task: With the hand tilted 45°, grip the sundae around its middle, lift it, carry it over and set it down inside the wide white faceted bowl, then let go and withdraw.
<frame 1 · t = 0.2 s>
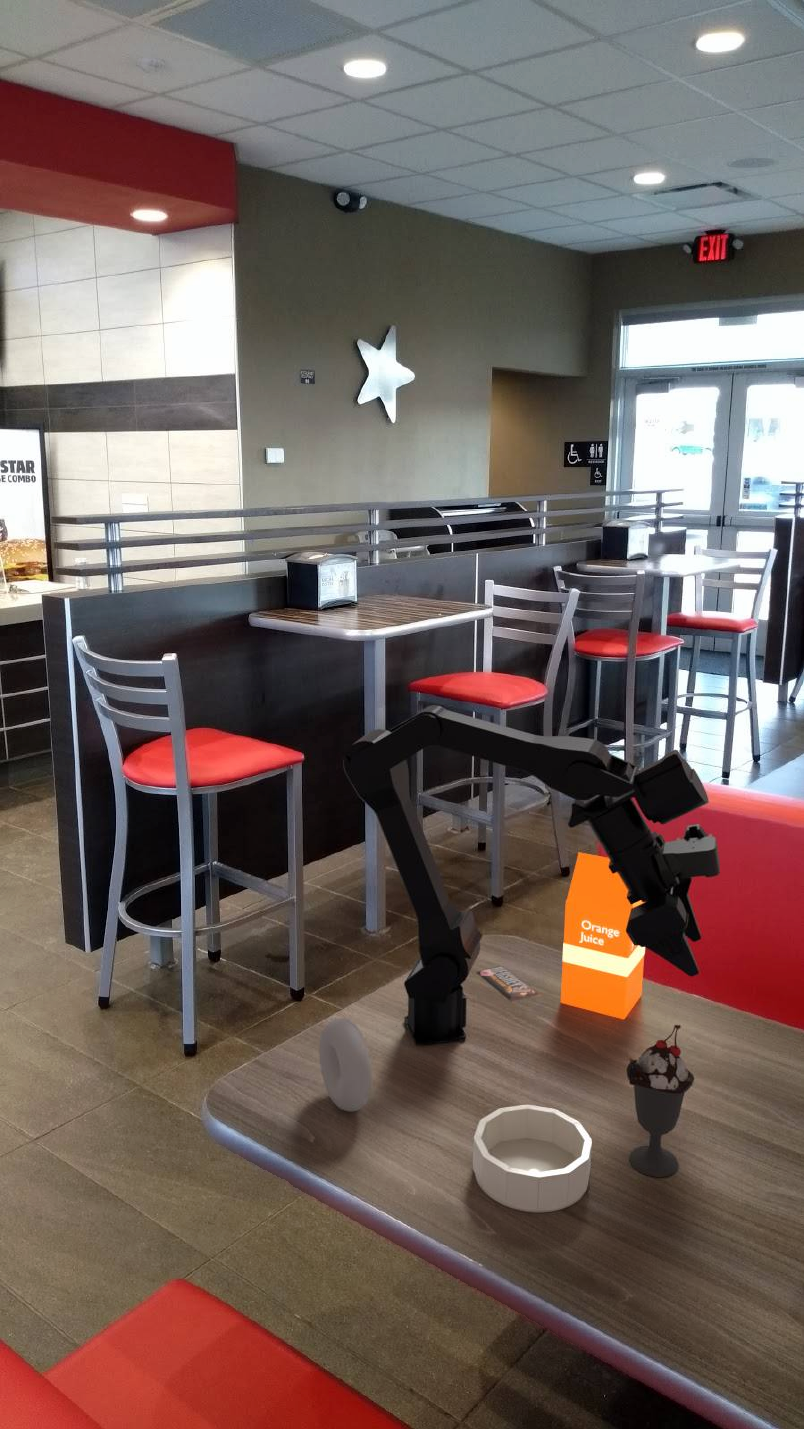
hand: (696, 956, 123), 15 cm above the table, tool tilted 35°, fingers open, 9 cm apart
orange juice: (601, 1000, 144), on the table
donut: (345, 1105, 120), on the table
sundae: (653, 1163, 110), on the table
white faceted bowl: (531, 1173, 108), on the table
chocolate bar: (506, 987, 148), on the table
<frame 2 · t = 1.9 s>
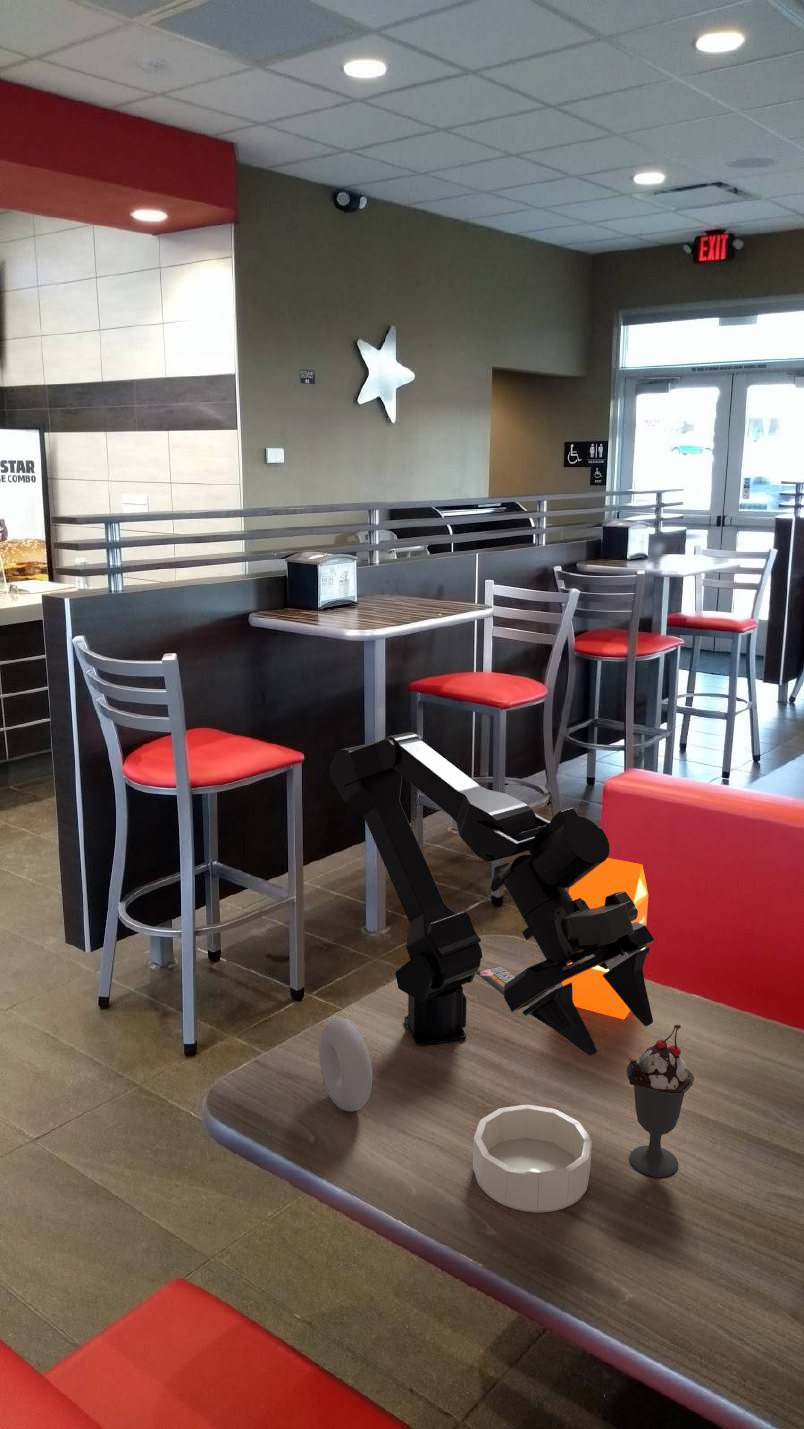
hand: (622, 1039, 111), 12 cm above the table, tool tilted 45°, fingers open, 9 cm apart
nothing on the table moved.
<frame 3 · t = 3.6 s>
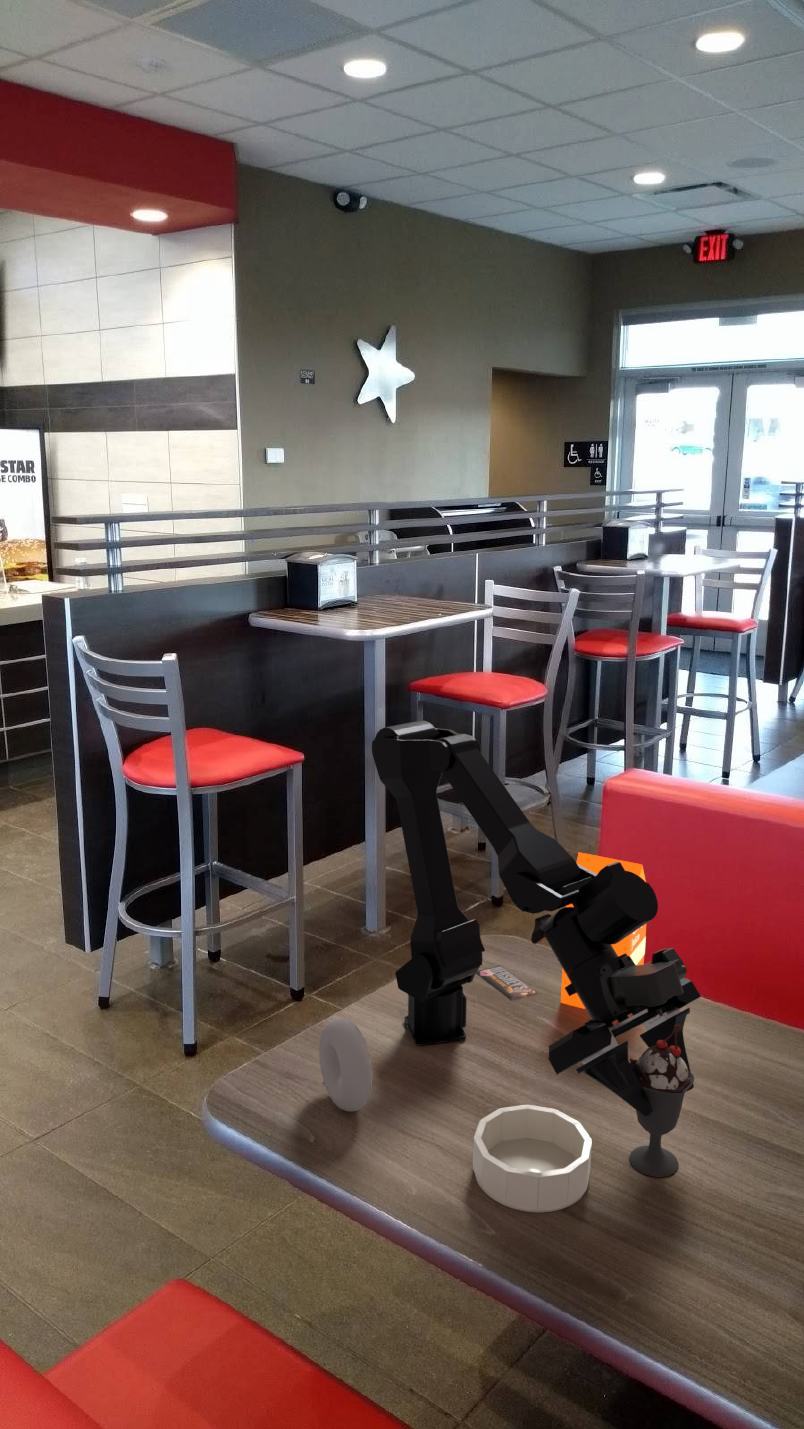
hand: (670, 1102, 107), 8 cm above the table, tool tilted 45°, fingers closed on sundae, 6 cm apart
sundae: (653, 1163, 110), on the table, touching gripper
everything else where it was.
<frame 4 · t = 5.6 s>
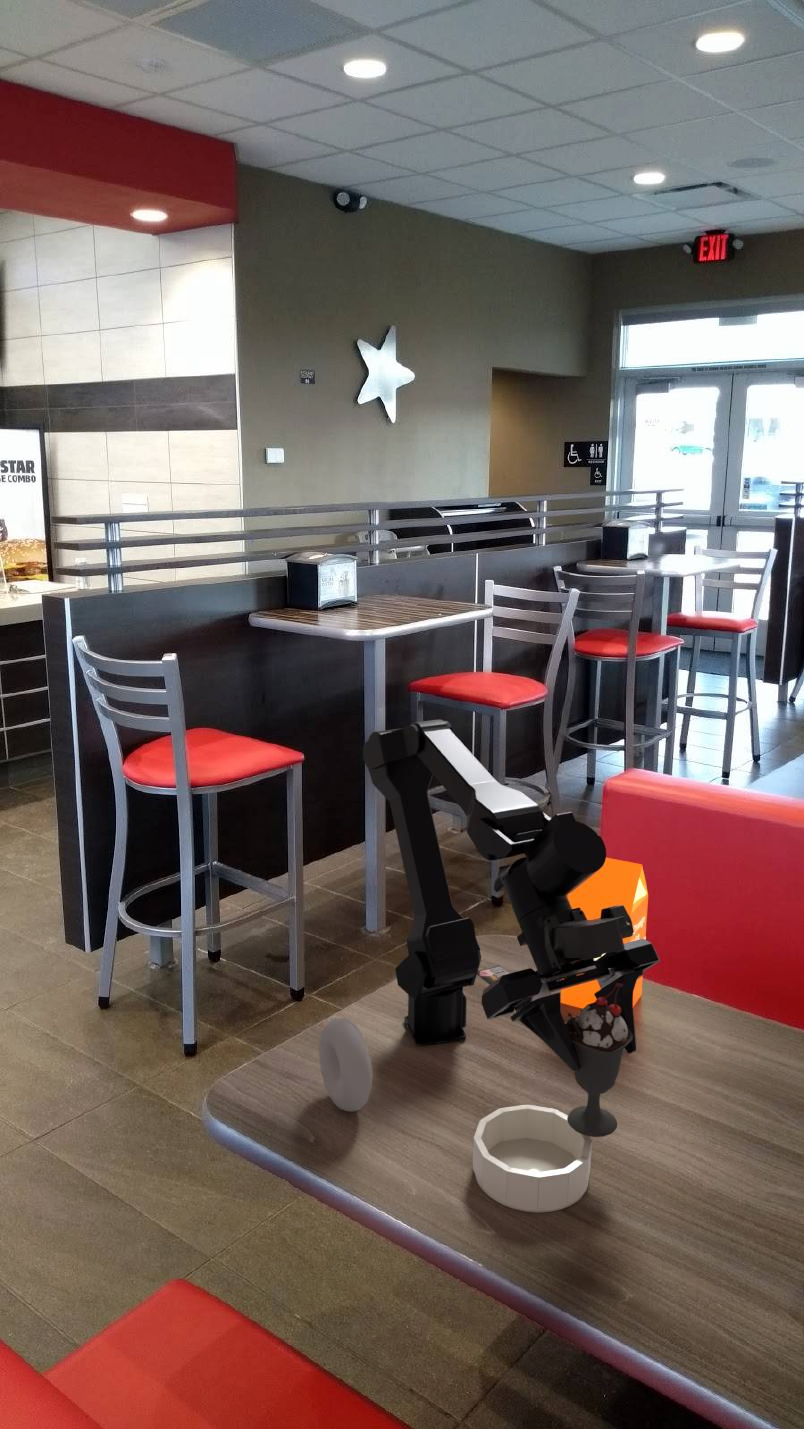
hand: (605, 1061, 105), 13 cm above the table, tool tilted 45°, fingers closed on sundae, 6 cm apart
sundae: (592, 1123, 108), point 5 cm above the table, touching gripper
everything else where it was.
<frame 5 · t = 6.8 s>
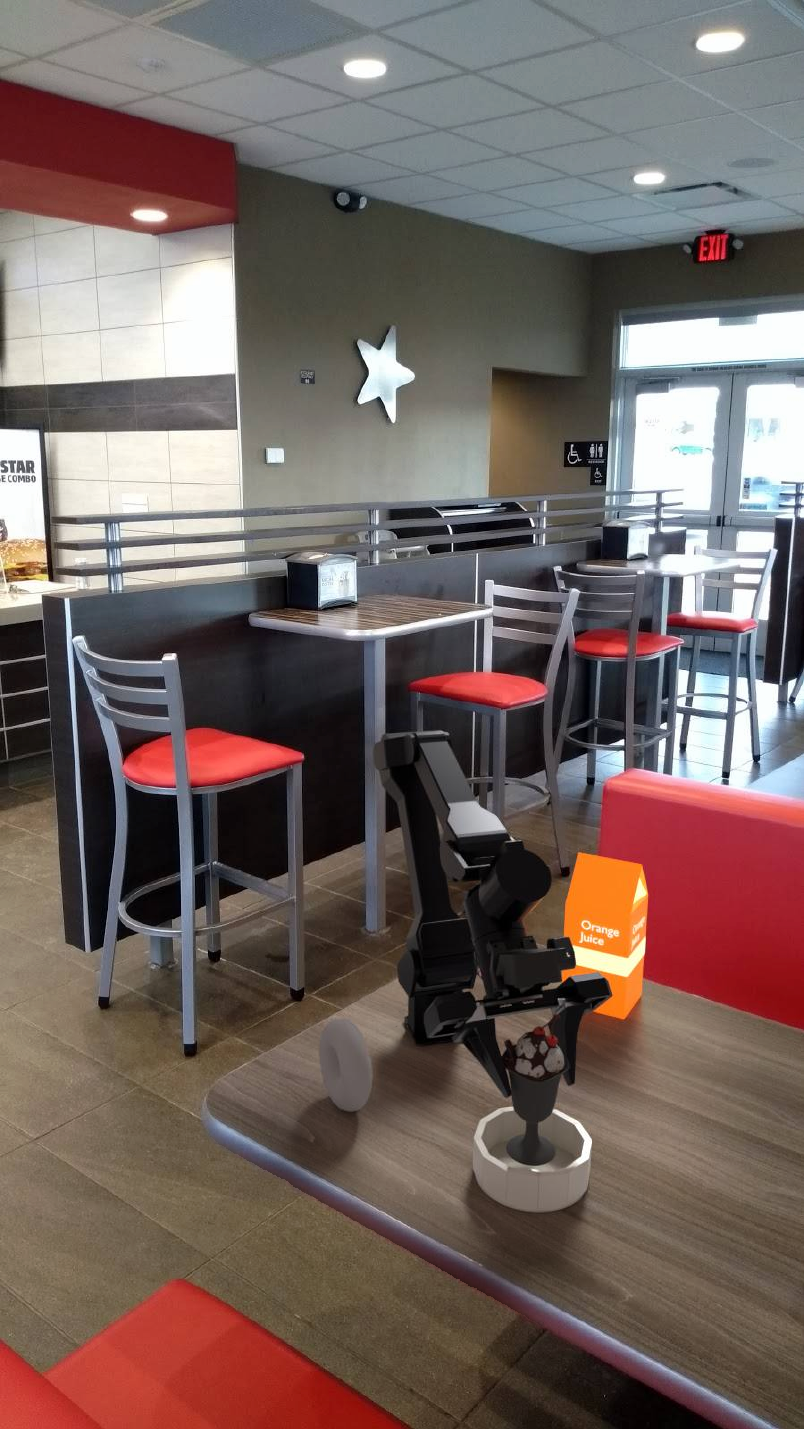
hand: (540, 1090, 105), 10 cm above the table, tool tilted 45°, fingers closed on sundae, 6 cm apart
sundae: (531, 1151, 108), point 2 cm above the table, touching gripper
everything else where it was.
when the fingers open (9 cm above the table, at t = 7.9 s): sundae drops 1 cm, resting on white faceted bowl.
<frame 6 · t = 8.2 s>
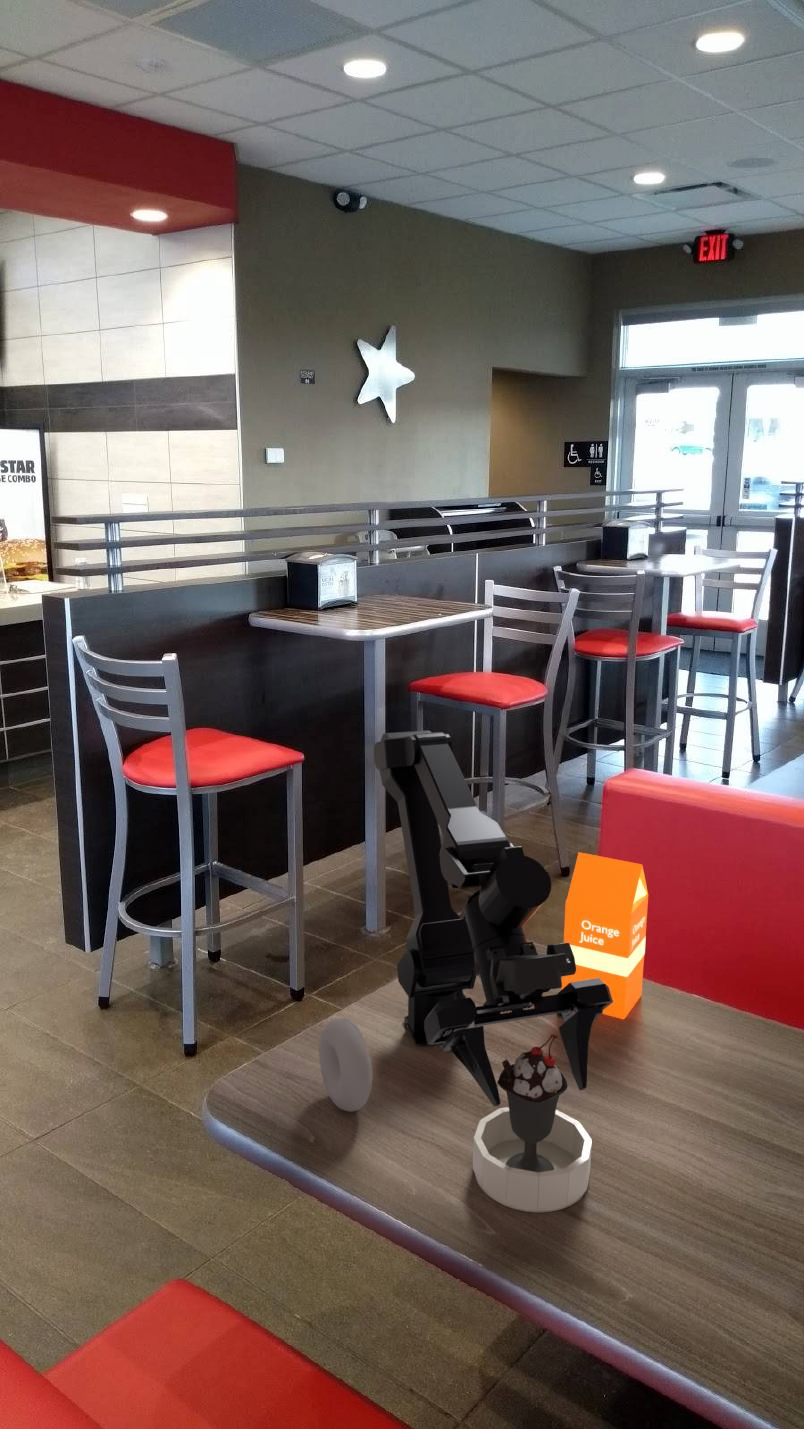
hand: (540, 1097, 105), 10 cm above the table, tool tilted 45°, fingers open, 9 cm apart
sundae: (529, 1171, 108), resting on white faceted bowl
everything else where it was.
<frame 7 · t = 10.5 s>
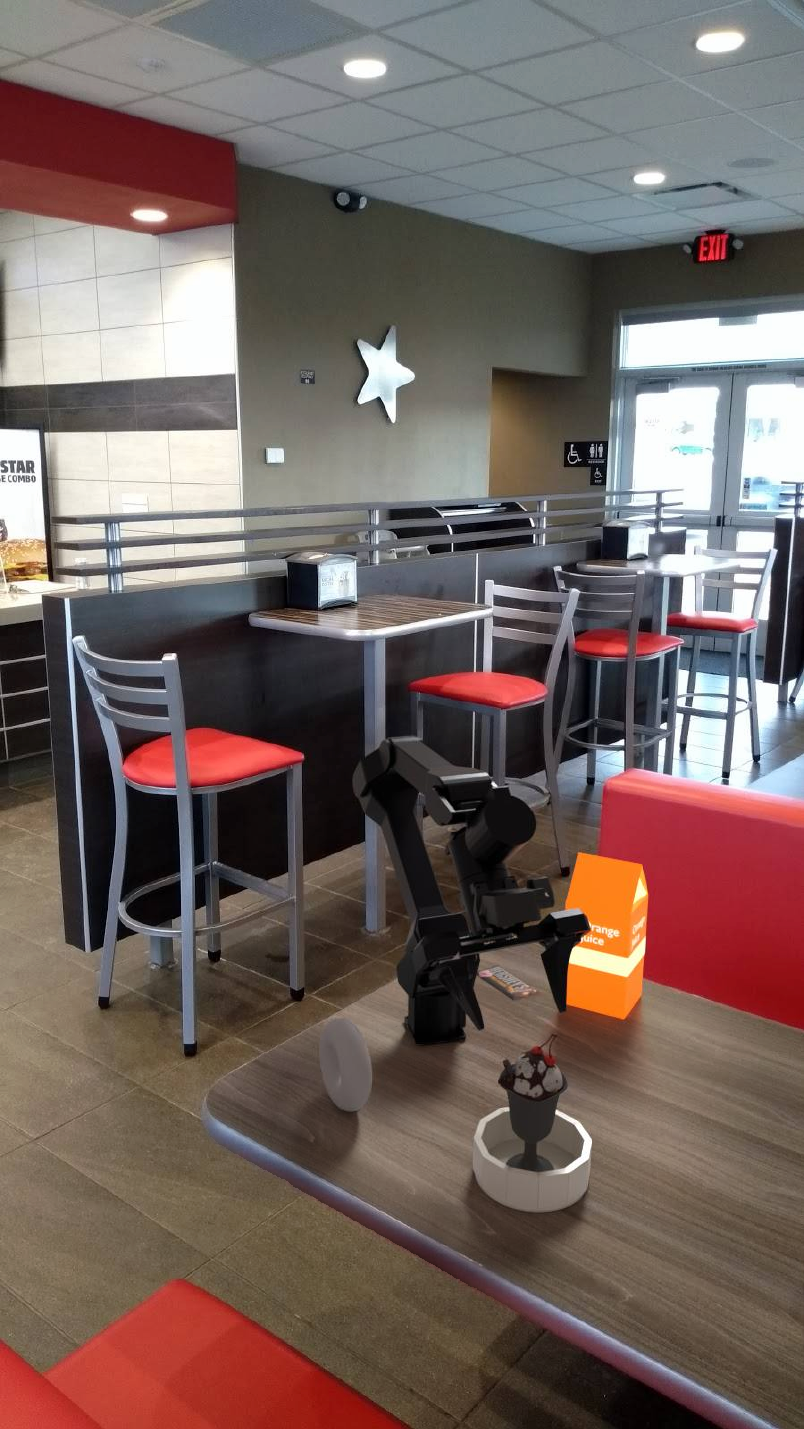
hand: (522, 1021, 111), 13 cm above the table, tool tilted 40°, fingers open, 9 cm apart
nothing on the table moved.
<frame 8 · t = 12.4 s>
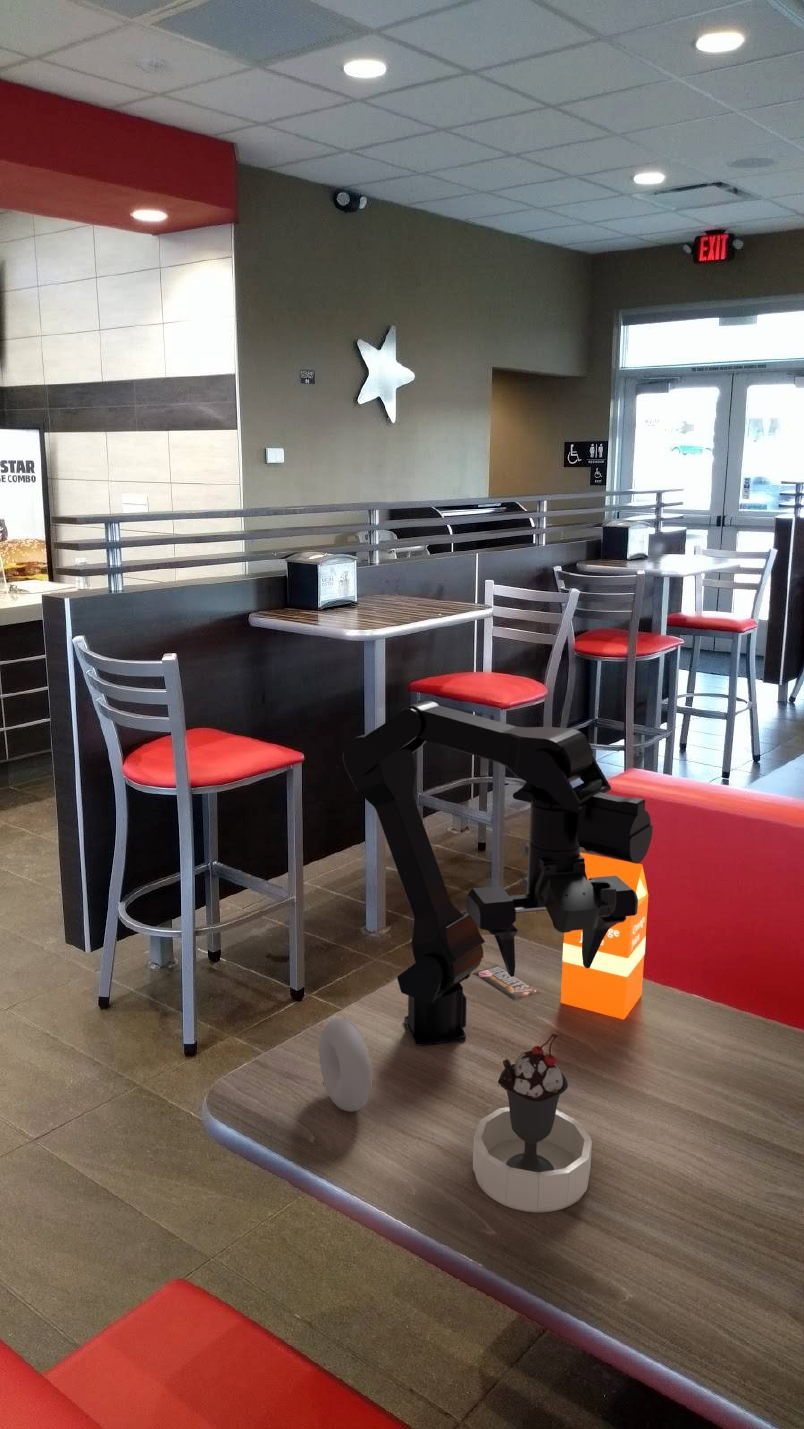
hand: (548, 971, 123), 13 cm above the table, tool pointing down, fingers open, 9 cm apart
nothing on the table moved.
at the end: sundae 0.2 cm off-centre on the white faceted bowl, point 0.3 cm above the white faceted bowl's base; sundae tilted 0°; the gripper is holding nothing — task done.
